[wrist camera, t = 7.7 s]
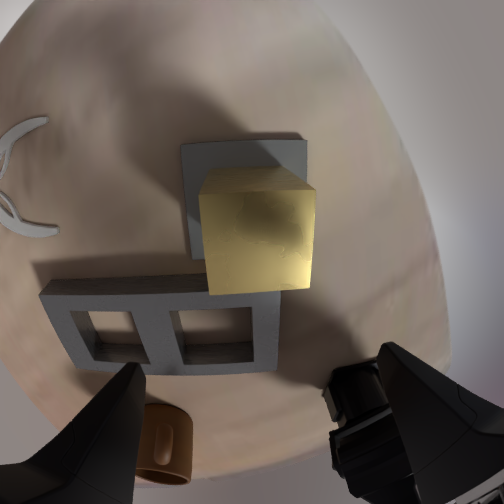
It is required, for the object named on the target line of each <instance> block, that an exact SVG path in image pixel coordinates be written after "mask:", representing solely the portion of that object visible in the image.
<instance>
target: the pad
mask: <svg viewBox="0 0 504 504" xmlns="http://www.w3.org/2000/svg"><path fill="white" fill-rule="evenodd" d="M181 159H182V171H183V183H184V193H185V203H186V212H187V221H188V229H189V237H190V245H191V252H192V260H199V259H205V255H204V246H203V237H202V228H201V218H200V207H199V196H198V195H199V192H200V190H201V188H202V185H203V183H204V181H205V178H206V176H207V174H208V172H209V169H216V168H232V167H253V166H283V167H285V168H286V169H288V170H289V171H291V172H292V173H293V174H295V175H296V176H298V177H299V178H300V179H302V180H303V181H305V182H306V183H307V140H286V139H273V140H236V141H219V142H205V143H194V144H184V145H181Z"/></svg>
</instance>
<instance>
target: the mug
mask: <svg viewBox="0 0 504 504" xmlns="http://www.w3.org/2000/svg"><path fill="white" fill-rule="evenodd" d="M192 451H193V422H192V419H191V418H190V416H189V415H188V414H187V413H185V412H184V411H182V410H180V409H178V408H175V407H172V406H168V405H163V404H149V405H145V406H144V418H143V425H142V431H141V437H140V443H139V450H138V457H137V465H136V473H135V476H136V477H138V478H141V479H144V480H147V481H150V482H154V483H160V484H167V485H184V484H188V483H190V481H191V473H192Z"/></svg>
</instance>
